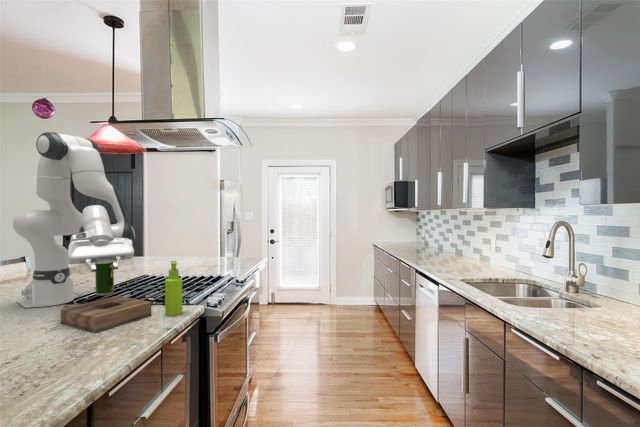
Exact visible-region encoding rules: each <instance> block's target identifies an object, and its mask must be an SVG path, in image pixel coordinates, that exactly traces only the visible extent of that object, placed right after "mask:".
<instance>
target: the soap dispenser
mask: <svg viewBox="0 0 640 427" xmlns="http://www.w3.org/2000/svg"><path fill="white" fill-rule="evenodd" d="M177 265H178V261H177V260H170V269H168V278H166V279H164V288H165V289H164V292H165V293H164V294H165V296H164V298H165V300H164V301H165V302H164V304H165V306H164V308H165V310H164V311H165V316H167V317H175V316H179V315H180V316H181V315H182V314H183V278H182V277H179V273H180V272H179V268H177Z"/></svg>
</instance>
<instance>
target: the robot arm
mask: <svg viewBox="0 0 640 427" xmlns="http://www.w3.org/2000/svg"><path fill="white" fill-rule="evenodd" d="M35 146H36V150H37V152H38V154H39V155H40V157H39V161H38V164H37V165H38V166H37V171H36V172H37V173H36V189H35V190H36V192H35V193H36V195H37V197H39V198H40V199H41V200H42V201H45V202H47V204H48V205H49V210H48V209H45V210H43V209H42V210H41V209H39V210H38V209H37V210H35V209H34V210H28V211H22V212H19V213H18V214H17V215H16V216H14V219H13V221H12V227H13V230H14V231H15V233H16V234H17V235H18V236H20V237H22V239H24V240H26V241H27V242H28V243H29V244H30V246H31V248H32V251H33V255H34V256H33V257H34V270H33V271H32V272H33V273H32V280H31V281H30V282H29V283H28V284H27V285H26V286H25V288H24V289H21V296H23V297H22V298H18V299H17V300H16V303H17V304H19V305H20V306H22V307H23V308H24V309H25V308H26V309H27V308H28V309H30V308H37V307H38V308H40V307H41V308H42V307H52V306H58V305H62V304H66V303H69V302H72V301H73V300H74V299H76V298H78V294H75V290H74V289H75V288H74V280H73V279H72V278H71V277H70V276H71V269H70V267H69V265H80V264H82V265H83V264H85V266H86V267H87V268H88V269H89V270H90V273H94V272H96V265H95V263H96V260H98V259H113V264H114V271H115V270H119V264H120V262H121V261H122V260H123V261H124V260H131V259H132V258H134V256H135V249H134V247H133V244H134V242H135V241H136V233H135V230H134V228H133V226H132V224H131V222H130V219H129V216H128V214H127V211H126V208H125V205H124V202H123V200H122V197H121V195H120V192H119V190H118V188H117V187H116V185H113V184H111V183H110V181H108V178H107V176H106V172H105V167H104V163H103V160H102V157H101V154H100V147H99V144H98V143H96V142H95V141H94V140H91V139H89V138H85V137H83V136H82V137H81V136H78V135H73V134H67V133H66V134H65V133H57V132H53V131H50V132H49V131H47V132H43V133H41V134H40V135H39V136H38V137H37V139H36V143H35ZM71 179H72V183H73V186H74V188H75V189H76V190H77V191H78V192H79V193H80V194H83V195H85V196H87V197H91V198H96V199H100V200H102V201H105V202H106V203H107V202H108V203H109V204H110V205H111V207H112V211H113V212H114V216H115V218H116V220H117V221H116V223H113V224H111V221H110V219H111V218H110V216H109V214H108V211H107V209H106V208H105V206H103V205H100V204H94V205H93V204H92V205H91V204H90V205H88V206H87V205H86V206H85V207H84V208H83V209H82V212H80V211H79V210H78V209H77V208H76V207H75V205H74V203H73V200H72V198H71ZM59 236H61V237H62V236H71V237H70V242H69V245H68V247H67V248H66V247H65V246H64V245H61V244H58V243H57V241H56V237H59ZM92 263H94V264H92Z"/></svg>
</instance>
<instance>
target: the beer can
mask: <svg viewBox="0 0 640 427" xmlns="http://www.w3.org/2000/svg"><path fill="white" fill-rule="evenodd" d="M113 263H114V261H113V259H98V260H96V262H94V265H96V272H95V276H94V277H95V294H96V295H97V296H109V295H113V293H114V292H115V276H114V275H115V273H114V271H115V270H114V264H113Z"/></svg>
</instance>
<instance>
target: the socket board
mask: <svg viewBox="0 0 640 427" xmlns="http://www.w3.org/2000/svg"><path fill="white" fill-rule="evenodd" d="M151 316H152V301H148V300H142V299H137V298H131V297H127V296H121V295H115V296H112V297H107V298H103V299H97V300H95V301H90V302H84V303H80V304H77V305H73V306H68V307H67V306H66V307H64V308H61V309H60V324H61V325H64V326H69V327H71V328H76V329H80V330H83V331H86V332H90V333H94V334H97V333H99V332H103V331H107V330H109V329H113V328H115V327H119V326H122V325H126V324H129V323H132V322H135V321H138V320H141V319H144V318H148V317H151Z"/></svg>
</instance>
